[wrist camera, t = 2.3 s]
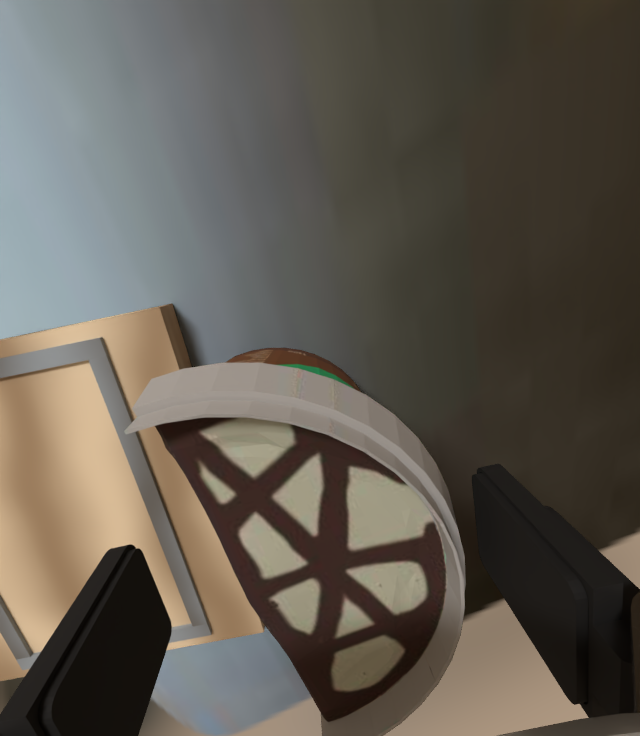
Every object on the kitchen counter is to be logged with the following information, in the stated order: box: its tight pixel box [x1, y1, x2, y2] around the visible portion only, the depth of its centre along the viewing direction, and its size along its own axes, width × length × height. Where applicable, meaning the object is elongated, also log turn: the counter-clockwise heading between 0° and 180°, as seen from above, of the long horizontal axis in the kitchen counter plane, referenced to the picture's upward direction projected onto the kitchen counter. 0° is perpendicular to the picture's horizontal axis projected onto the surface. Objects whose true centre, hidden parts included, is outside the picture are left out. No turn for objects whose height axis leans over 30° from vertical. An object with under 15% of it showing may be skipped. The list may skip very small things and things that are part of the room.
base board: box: [0, 304, 265, 681], centre depth 19 cm, size 16×18×2 cm
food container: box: [124, 348, 466, 736], centre depth 14 cm, size 12×6×10 cm, turn 22°
